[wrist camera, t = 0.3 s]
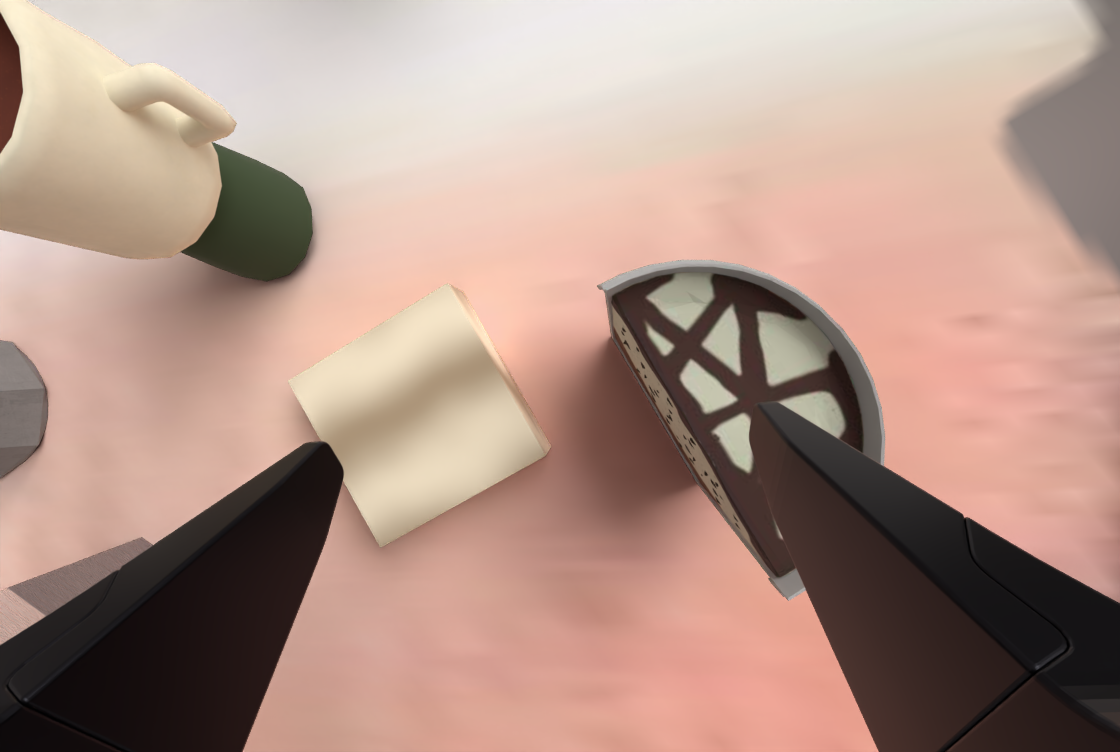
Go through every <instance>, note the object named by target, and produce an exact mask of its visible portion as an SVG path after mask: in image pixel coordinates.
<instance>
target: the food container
mask: <svg viewBox="0 0 1120 752" xmlns="http://www.w3.org/2000/svg"><path fill="white" fill-rule="evenodd" d="M597 287H598V289H599V290H604V292H605V297H606V304H607V311H608V318H609V325H610V332H611V337H612V338H613V340H614V342H615V344H616V345H617V347H618V349H619V350H620V352H621V354H622V356H623V357H624V359H625V361H626V362H627V364H628V366H629V368H630V369H631V371H632V373H633V374H634V376H635V378H636V380H637V381H638V383H639V385H640V386H641V388H642V390H643V392H644V393H645V395H646V397H647V398H648V400H649V402H650V403H651V405H652V407H653V409H654V410H655V412H656V414H657V415H658V417H659V419H660V421H661V422H662V424H663V426H664V427H665V429H666V431H667V433H668V434H669V436H670V438H671V439H672V441H673V443H674V445H675V446H676V448H677V450H678V451H679V453H680V455H681V457H682V458H683V460H684V462H685V463H686V465H687V467H688V469H689V470H690V472H691V474H692V475H693V477H694V479H695V480H696V482H697V484H698V485H699V487H700V488H701V489H702V491H703V492H704V493H705V494H706V496H707V497H708V498H709V500H710V501H711V502H712V503H713V505H714V506H715V507H716V509H717V510H718V511H719V512H720V514H721V515H722V516H723V518H724V519H725V520H726V522H727V523H728V524H729V525H730V527H731V528H732V529H733V531H734V532H735V533H736V534H737V536H738V537H739V538H740V540H741V541H742V542H743V543H744V545H745V546H746V547H747V549H748V550H749V551H750V553H751V554H752V555H753V556H754V558H755V559H756V560H757V562H758V563H759V564H760V565H761V567H762V568H763V569H764V571H765V572H766V573H767V574H768V576H769V577H770V578H768V579H769V581H770V582H771V584H772V585H773V586H774V587H775V588H776V589H777V590H778V591H779V592H780V593H781V595H782V596H783V597H784V596H785V597H786V599H787V600H788V601H789V600H791V599H792V598H794V597H795V596H797V595H799V594H800V593H802V592H804V591H805V590H806V589H805V587H804V585H803V582H802V580H801V578H800V576H799V573H798V571H797V569H796V567H795V565H794V562H793V560H792V558H791V556H790V554H789V551H788V549H787V547H786V545H785V542H784V540H783V538H782V536H781V534H780V531H779V529H778V527H777V525H776V522H775V520H774V517H773V515H772V513H771V510H770V507H769V504H768V501H767V498H766V494H765V491H764V488H763V485H762V482H761V479H760V475H759V472H758V469H757V466H756V463H755V459H754V456H753V453H752V450H751V447H750V443H749V429H750V423H751V417H752V410H753V407H754V405H755V404H756V403H760V402H772V401H776V402H779V403H781V404H782V405H784V406H786V407H787V408H789V409H791V410H792V411H794V412H796V413H797V414H799V415H800V416H802V417H804V418H805V419H807V420H809V421H810V422H812V423H814V424H815V425H817V426H819V427H820V428H822V429H824V430H825V431H827V432H828V433H830V434H832V435H833V436H835V437H837V438H838V439H840V440H842V441H843V442H845V443H847V444H848V445H850V446H852V447H853V448H855V449H856V450H858V451H860V452H861V453H863V454H865V455H866V456H868V457H870V458H871V459H873V460H875V461H876V462H878V463H880V464H881V465H883V466H884V453H885V431H884V423H883V415H882V408H881V404H880V401H879V398H878V394H877V391H876V388H875V384H874V381H873V378H872V376H871V374H870V372H869V370H868V368H867V366H866V364H865V362H864V360H863V358H862V356H861V354H860V352H859V351H858V350H857V348H856V347H855V345H854V344H853V343H852V341H851V340H850V338H849V337H848V336H847V334H846V333H845V331H844V330H843V329H842V328H841V327H840V326H839V325H838V324H837V323H836V322H835V321H834V320H833V319H832V318H831V317H830V316H829V315H828V314H827V313H826V312H825V311H824V310H823V309H822V308H821V307H820V306H819V305H818V304H817V303H816V302H814V301H813V300H811V299H810V298H809V297H807V296H806V295H805V294H803V293H802V292H800V291H799V290H798V289H796V288H795V287H793V286H791V285H789V284H787V283H785V282H783V281H781V280H779V279H777V278H775V277H773V276H772V275H770V274H767V273H764V272H761V271H758V270H755V269H752V268H749V267H746V266H743V265H739V264H733V263H726V262H720V261H714V260H678V261H672V262H665V263H659V264H653V265H648V266H645V267H641V268H638V269H635V270H632V271H629V272H626V273H623V274H620V275H618V276H616V277H614V278H612V279H610V280H608V281H606V282H604V283H602V284H600V285H598V286H597Z"/></svg>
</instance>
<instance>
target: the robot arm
mask: <svg viewBox="0 0 1120 752" xmlns="http://www.w3.org/2000/svg"><path fill="white" fill-rule="evenodd" d="M749 443H750V447H751V450H752V453H753V456H754V459H755V463H756V466H757V469H758V472H759V475H760V479H761V482H762V485H763V488H764V491H765V494H766V498H767V501H768V504H769V507H770V510H771V513H772V515H773V517H774V520H775V522H776V525H777V527H778V529H779V531H780V534H781V536H782V538H783V540H784V542H785V545H786V547H787V549H788V551H789V554H790V556H791V558H792V560H793V562H794V565H795V567H796V569H797V571H798V573H799V576H800V578H801V580H802V582H803V585H804V587H805V589H806V591H807V593H808V596H809V598H810V600H811V602H812V605H813V607H814V609H815V611H816V613H817V616H818V618H819V620H820V622H821V625H822V627H823V629H824V631H825V633H826V636H827V638H828V640H829V642H830V645H831V647H832V649H833V651H834V653H835V656H836V658H837V660H838V662H839V665H840V667H841V669H842V671H843V673H844V676H845V678H846V680H847V682H848V684H849V687H850V689H851V691H852V693H853V696H854V698H855V700H856V702H857V704H858V707H859V709H860V711H861V713H862V716H863V718H864V720H865V722H866V724H867V727H868V729H869V731H870V733H871V736H872V738H873V740H874V742H875V744H876V747H877V749H878V751H879V752H1120V603H1118V602H1116V601H1115V600H1113V599H1111V598H1109V597H1107V596H1105V595H1103V594H1101V593H1100V592H1098V591H1096V590H1094V589H1092V588H1090V587H1089V586H1087V585H1085V584H1083V583H1081V582H1079V581H1078V580H1076V579H1074V578H1072V577H1070V576H1069V575H1067V574H1065V573H1063V572H1061V571H1059V570H1058V569H1056V568H1054V567H1052V566H1050V565H1049V564H1047V563H1045V562H1043V561H1041V560H1039V559H1038V558H1036V557H1034V556H1033V555H1031V554H1029V553H1028V552H1026V551H1024V550H1022V549H1021V548H1019V547H1017V546H1016V545H1014V544H1012V543H1010V542H1009V541H1007V540H1005V539H1004V538H1002V537H1000V536H999V535H997V534H995V533H993V532H992V531H990V530H989V529H987V528H985V527H984V526H982V525H980V524H979V523H977V522H975V521H974V520H972V519H970V518H968V517H966V518H964V516H963V514H962V513H960V512H959V511H957V510H955V509H954V508H952V507H950V506H949V505H947V504H945V503H944V502H942V501H940V500H939V499H937V498H936V497H934V496H932V495H931V494H929V493H927V492H926V491H924V490H922V489H921V488H919V487H917V486H916V485H914V484H912V483H911V482H909V481H908V480H906V479H904V478H903V477H901V476H899V475H898V474H896V473H894V472H893V471H891V470H889V469H888V468H886V467H884V466H883V465H881V464H880V463H878V462H876V461H875V460H873V459H871V458H870V457H868V456H866V455H865V454H863V453H861V452H860V451H858V450H856V449H855V448H853V447H852V446H850V445H848V444H847V443H845V442H843V441H842V440H840V439H838V438H837V437H835V436H833V435H832V434H830V433H828V432H827V431H825V430H824V429H822V428H820V427H819V426H817V425H815V424H814V423H812V422H810V421H809V420H807V419H805V418H804V417H802V416H800V415H799V414H797V413H796V412H794V411H792V410H791V409H789V408H787V407H786V406H784V405H782V404H781V403H779V402H776V401H772V402H760V403H756V404H755V405H754V407H753V410H752V417H751V423H750V429H749ZM343 478H344V469H343V466H342V464H341V463H340V461H339V459H338V458H337V456H336V454H335V453H334V451H333V449H332V448H331V446H330V445H329V444H328V443H327V442H324V441H318V442H308V443H305V444H303V445H302V446H300V447H299V448H297V449H296V450H294V451H293V452H291V453H290V454H288V455H287V456H285V457H284V458H282V459H281V460H279V461H278V462H276V463H275V464H273V465H272V466H270V467H269V468H267V469H266V470H264V471H263V472H261V473H260V474H258V475H257V476H255V477H254V478H253V479H251V480H250V481H248V482H247V483H245V484H244V485H242V486H241V487H239V488H238V489H236V490H235V491H233V492H232V493H230V494H229V495H227V496H226V497H224V498H223V499H221V500H220V501H218V502H217V503H215V504H214V505H212V506H211V507H209V508H208V509H206V510H205V511H203V512H202V513H200V514H199V515H197V516H196V517H194V518H193V519H191V520H190V521H188V522H187V523H185V524H184V525H182V526H181V527H180V528H178V529H177V530H175V531H174V532H172V533H171V534H169V535H168V536H166V537H165V538H163V539H162V540H160V541H159V542H157V543H156V544H154V545H153V546H151V547H150V548H148V549H147V550H145V551H144V552H142V553H141V554H139V555H138V556H136V557H135V558H133V559H132V560H130V561H129V562H127V563H126V564H124V565H123V566H122V567H121V568H120V570H115V571H114V572H112V573H111V574H109V575H108V576H106V577H105V578H103V579H102V580H100V581H99V582H97V583H96V584H94V585H93V586H91V587H90V588H88V589H87V590H85V591H84V592H82V593H81V594H79V595H78V596H76V597H75V598H73V599H72V600H70V601H69V602H67V603H66V604H64V605H63V606H61V607H59V608H58V609H56V610H55V611H53V612H52V613H50V614H49V615H47V616H45V617H44V618H42V619H41V620H39V621H37V622H36V623H34V624H33V625H31V626H30V627H28V628H26V629H25V630H23V631H22V632H20V633H18V634H17V635H15V636H14V637H12V638H10V639H9V640H7V641H6V642H4V643H2V644H1V645H0V752H243V749H244V747H245V744H246V742H247V739H248V737H249V734H250V732H251V729H252V727H253V724H254V722H255V719H256V716H257V714H258V711H259V709H260V706H261V704H262V701H263V699H264V696H265V694H266V691H267V689H268V686H269V684H270V681H271V679H272V676H273V674H274V671H275V668H276V666H277V663H278V661H279V658H280V656H281V653H282V651H283V648H284V646H285V643H286V641H287V638H288V636H289V633H290V631H291V628H292V626H293V623H294V620H295V618H296V615H297V613H298V610H299V608H300V605H301V603H302V600H303V598H304V595H305V593H306V590H307V588H308V585H309V583H310V580H311V577H312V575H313V572H314V570H315V567H316V565H317V562H318V560H319V557H320V555H321V552H322V549H323V547H324V544H325V541H326V538H327V535H328V532H329V528H330V524H331V521H332V517H333V514H334V510H335V507H336V503H337V500H338V496H339V493H340V489H341V485H342V482H343Z"/></svg>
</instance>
